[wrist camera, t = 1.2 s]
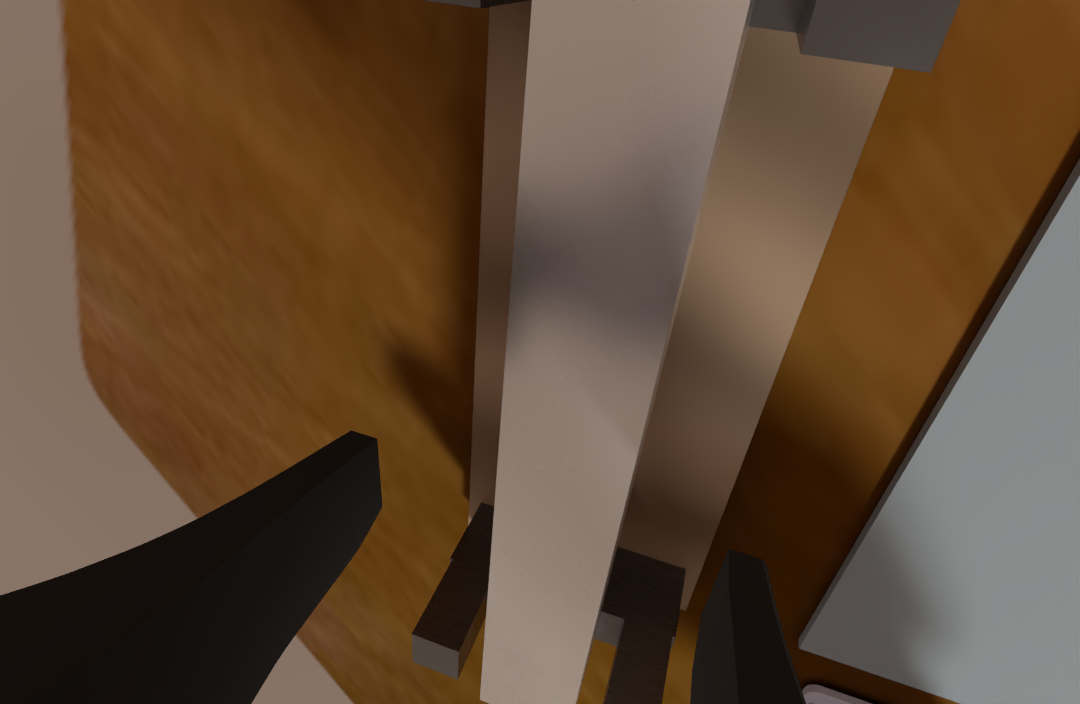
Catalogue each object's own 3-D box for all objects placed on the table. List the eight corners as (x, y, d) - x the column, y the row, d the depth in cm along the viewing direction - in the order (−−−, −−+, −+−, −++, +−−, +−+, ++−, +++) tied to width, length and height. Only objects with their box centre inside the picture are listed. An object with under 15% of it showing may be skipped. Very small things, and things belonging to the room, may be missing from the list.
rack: (689, 585, 24) (661, 772, 19) (479, 515, 26) (397, 666, 21) (946, -102, 12) (1091, -157, 6) (515, -140, 14) (336, -207, 8)
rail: (591, 649, 22) (567, 734, 19) (512, 620, 22) (480, 699, 20) (791, -142, 9) (794, -177, 7) (602, -156, 10) (546, -193, 8)
